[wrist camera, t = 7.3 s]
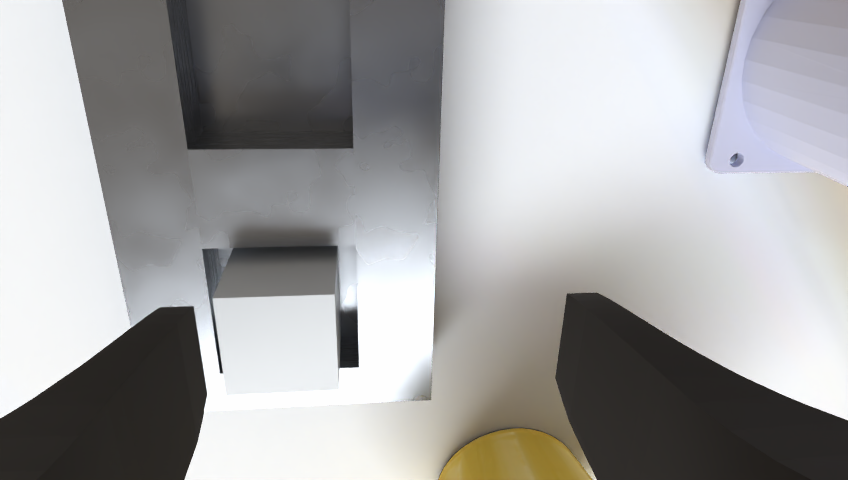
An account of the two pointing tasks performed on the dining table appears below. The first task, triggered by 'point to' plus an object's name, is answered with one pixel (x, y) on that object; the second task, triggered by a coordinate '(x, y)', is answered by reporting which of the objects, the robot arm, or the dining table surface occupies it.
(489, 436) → the plant pot
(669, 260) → the dining table surface
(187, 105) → the grey slotted board
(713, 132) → the robot arm
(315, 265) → the white cube
